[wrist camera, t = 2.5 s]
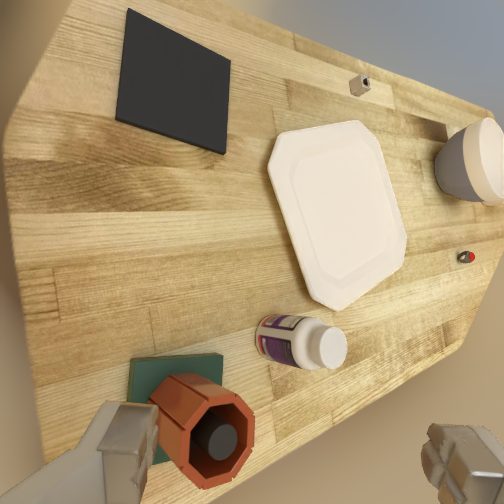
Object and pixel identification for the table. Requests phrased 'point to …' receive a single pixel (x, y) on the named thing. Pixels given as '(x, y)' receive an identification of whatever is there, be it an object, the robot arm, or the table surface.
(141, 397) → the post stand
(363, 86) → the cube with dark pebbles
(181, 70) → the mat
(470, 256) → the ring
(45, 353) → the table surface
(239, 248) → the table surface
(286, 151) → the plate
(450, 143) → the bowl
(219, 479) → the orange hollow octagonal tube
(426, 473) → the robot arm
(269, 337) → the pill bottle
